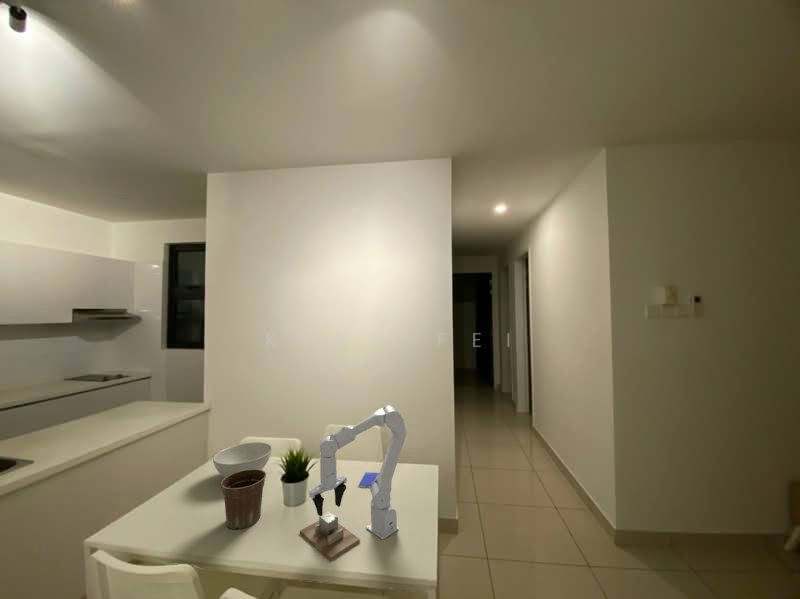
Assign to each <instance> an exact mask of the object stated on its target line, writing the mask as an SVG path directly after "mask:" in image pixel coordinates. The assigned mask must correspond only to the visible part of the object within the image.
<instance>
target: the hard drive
mask: <svg viewBox="0 0 800 599" xmlns="http://www.w3.org/2000/svg"><path fill="white" fill-rule="evenodd" d="M379 473H380V472H367V471H366V472H365V473H363V476H362V478H361V480H360V482H359V484H358V485H357V488H365V489H367V488H368V489H370V487H371V484H372V483H373V482H374V481H375V479H376V476H377V475H378V474H379Z"/></svg>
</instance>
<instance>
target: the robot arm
mask: <svg viewBox="0 0 800 599" xmlns="http://www.w3.org/2000/svg"><path fill="white" fill-rule="evenodd" d="M385 425H386V426H387V428H389V429H390V431H391V437H390V440H389V442H388V446H387V449H386V451H385V455H384V457H383V461H382V464H381V466H380V467H381V468H380V470H379V472H378V473H379V474H378V475H377V476H376V479H375V481H374V482H373V483H372V484H371V487H370V488H369V490H370V494H371V496H372V498H371V500H370V517H371V518H370V523H369V524H368V525H367V526H366V527H365V528H366V530H368V531H369V532H371V533H372V534H374V535H375V536H377V537H378V538H380V539H381V540H385V539H387V538H388V537H389V536H390V535H393V533H395V532H396V531H398V530H399V527H398V526H397V522H398V521H397V511H396V510H395V509H394V507H393V506H392V504H391V492H392V481H393V477H394V474H395V470H396V468H397V465H398V461H399V459H400V456H401V453H402V449H403V446H404V442H405V440H406V437H407V430H406V426H405V419H404V417H402V415H401V413H400V412H399V411H398V410H397V408H396V407H395V406H394V405H391V404H388V405H385V406H383V407H382V408H379V409H378V410H376V411H374V412H373V413H371V414H370V415H369V416H367V417H366V418H364V419H363V420H361V421H359V422H358V423H356V424H355V425H353V426H351V425H347V426H345V425H343V426H342V427H341V429H340V430H338V431H336V432H334V433H330V434H329V435H326V436H324V437H323V438H322V439H321V441H320V442H319V452H320V454H319V455H320V460H319V462H320V463H319V464H320V465H319V468H320V471H319V472H320V483H319V484H318V485H316V487H314V488H313V489H311V490H310V491H308V492H309V498H310V499H311V500H312V502H313V504H314V506H315V510H316V513H317V515H318V517H319V516H322V514H324V513H323V512H324V511H323V510H324V509H323V506H324V499H325V498H324V497H323V496H322V494H323V493H325V492H329V491H332V490H334V501H335V502H334V503H335V506H337V507H338V508H340V507H341V505H342V504H341V503H342V501H343V500H342V499H343V497H344V493H345V491H346V490H347V485H346V484H347V483H348V482H347V481H348V480H347V477H346V476H344V475H342V476H340V477H337V476H338V475H337V472H338V471H337V457H336V453H337V451H338V450H340V449H343V447H346V446H347V445H349V444H351V443H352V442H354V441H355V440H356V437H357V436H358V435H359V434H362V433H364V432H366V431H367V430H370V429H371V428H373V427H375V426H377V427H382V428H384V427H385Z"/></svg>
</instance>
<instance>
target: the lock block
mask: <svg viewBox="0 0 800 599" xmlns="http://www.w3.org/2000/svg"><path fill="white" fill-rule="evenodd" d="M318 521H319V533H320V534H321V535H322V536H323V537H324V538H326V539H327V540H328V536H329V535H331V534H333V533H334V532H336V531H338V523H339V518H338V517H337V516H336V515H334V514H333V513H331V511H326V512H324V513H323V514H322V516H319V515H318Z"/></svg>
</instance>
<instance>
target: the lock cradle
mask: <svg viewBox="0 0 800 599" xmlns="http://www.w3.org/2000/svg"><path fill="white" fill-rule="evenodd" d="M299 534H300V535H301V536H302V537H304V538H305V539H306V540H307V541H308V543H310V544H311V545H312V546H314V548H316V550H318V551H319V552H320V553H321V554H322V555H323V556H325V558H327V559H328V560H329V561H332V560H334V559H335V558H338V557H339V556H340V555H342V554H343V553H345V552H346V551H348V550H350V549H351V548H352V547H355V546H356V545H357V544H359V543H360V541H361V538H359V537H358V536H356V535H355V534H354V533H352V532H351V531H349V529H347V528H345V527H344V526H343V525H341V524H340V523H339V522H338V531H336V532H334V533H333V534H331V535H329V536H328V540H327V539H326V538H324V537H323V536H322V535H321V534H320V533H319V520H317V521H315V522H313V523H312V524H310V525H308V526H306V527H304V528H302V529H300V530H299Z"/></svg>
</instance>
